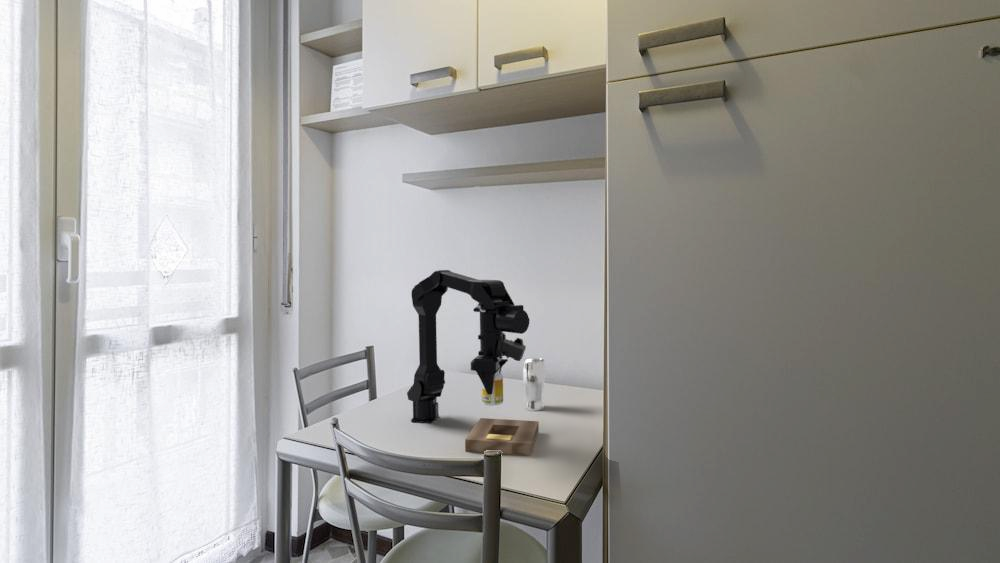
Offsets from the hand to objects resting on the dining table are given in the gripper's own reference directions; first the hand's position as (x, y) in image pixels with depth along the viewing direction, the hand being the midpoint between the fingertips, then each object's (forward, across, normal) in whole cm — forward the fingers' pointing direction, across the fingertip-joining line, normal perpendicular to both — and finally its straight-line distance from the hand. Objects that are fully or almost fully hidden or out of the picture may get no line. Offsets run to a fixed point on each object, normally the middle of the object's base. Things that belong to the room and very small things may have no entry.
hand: (492, 391), depth 128 cm
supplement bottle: (+3, 0, 0) cm, 3 cm away
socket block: (+13, +1, -2) cm, 14 cm away
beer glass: (+13, +30, -6) cm, 34 cm away
